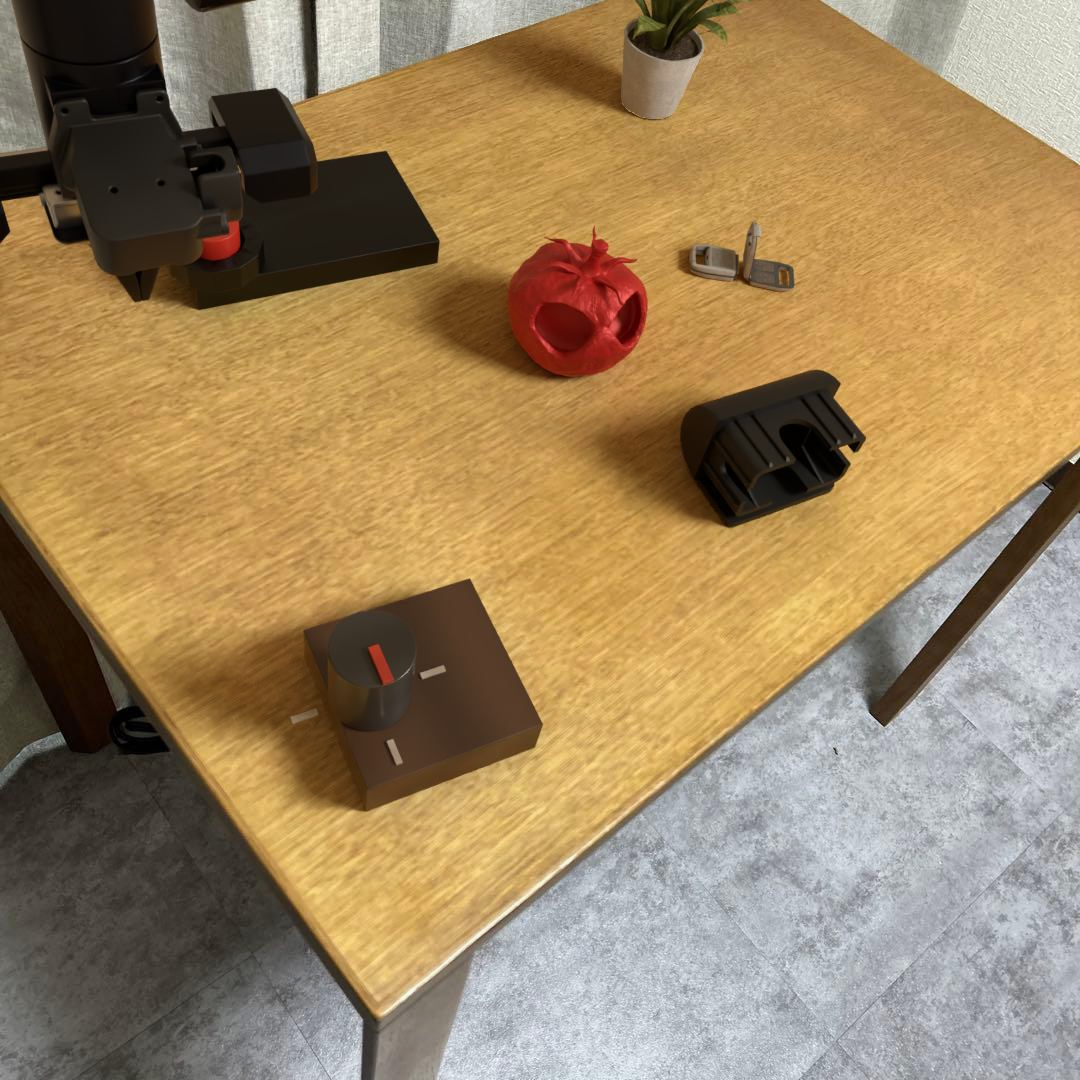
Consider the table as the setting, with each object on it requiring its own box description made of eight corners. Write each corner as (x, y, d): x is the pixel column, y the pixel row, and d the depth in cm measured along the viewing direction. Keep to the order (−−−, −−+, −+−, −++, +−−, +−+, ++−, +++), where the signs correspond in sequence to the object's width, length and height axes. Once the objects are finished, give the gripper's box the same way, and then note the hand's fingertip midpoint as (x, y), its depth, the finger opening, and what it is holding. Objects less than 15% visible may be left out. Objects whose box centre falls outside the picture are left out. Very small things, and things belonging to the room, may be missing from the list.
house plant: (691, 182, 94) (750, -4, 81) (546, 121, 96) (580, -70, 83) (744, 103, 102) (805, -78, 89) (609, 48, 104) (650, -137, 91)
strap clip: (687, 275, 87) (702, 232, 84) (688, 250, 89) (702, 207, 86) (792, 294, 88) (811, 253, 84) (791, 269, 90) (809, 227, 86)
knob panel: (324, 828, 58) (323, 805, 55) (264, 669, 62) (261, 640, 60) (535, 747, 62) (544, 723, 59) (465, 604, 67) (470, 576, 64)
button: (194, 265, 75) (191, 245, 73) (179, 231, 76) (177, 211, 75) (247, 256, 76) (245, 236, 74) (231, 222, 78) (230, 202, 76)
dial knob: (316, 672, 59) (315, 622, 55) (393, 647, 61) (398, 596, 56) (344, 743, 57) (345, 696, 53) (423, 715, 59) (430, 667, 54)
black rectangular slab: (184, 323, 76) (177, 279, 73) (140, 213, 82) (132, 168, 79) (442, 271, 83) (447, 229, 80) (385, 173, 89) (387, 130, 86)
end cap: (782, 416, 80) (815, 349, 74) (839, 489, 77) (878, 425, 71) (667, 454, 76) (692, 386, 71) (721, 532, 73) (753, 468, 67)
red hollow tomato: (487, 299, 82) (502, 196, 75) (614, 291, 85) (641, 191, 77) (519, 399, 77) (539, 299, 69) (653, 387, 80) (686, 289, 72)
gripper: (-122, 175, 41) (-15, 445, 54) (357, 108, 48) (352, 362, 60) (-161, 10, 46) (-55, 291, 59) (276, -29, 53) (287, 231, 66)
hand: (139, 296), depth 61 cm, fingers closed
